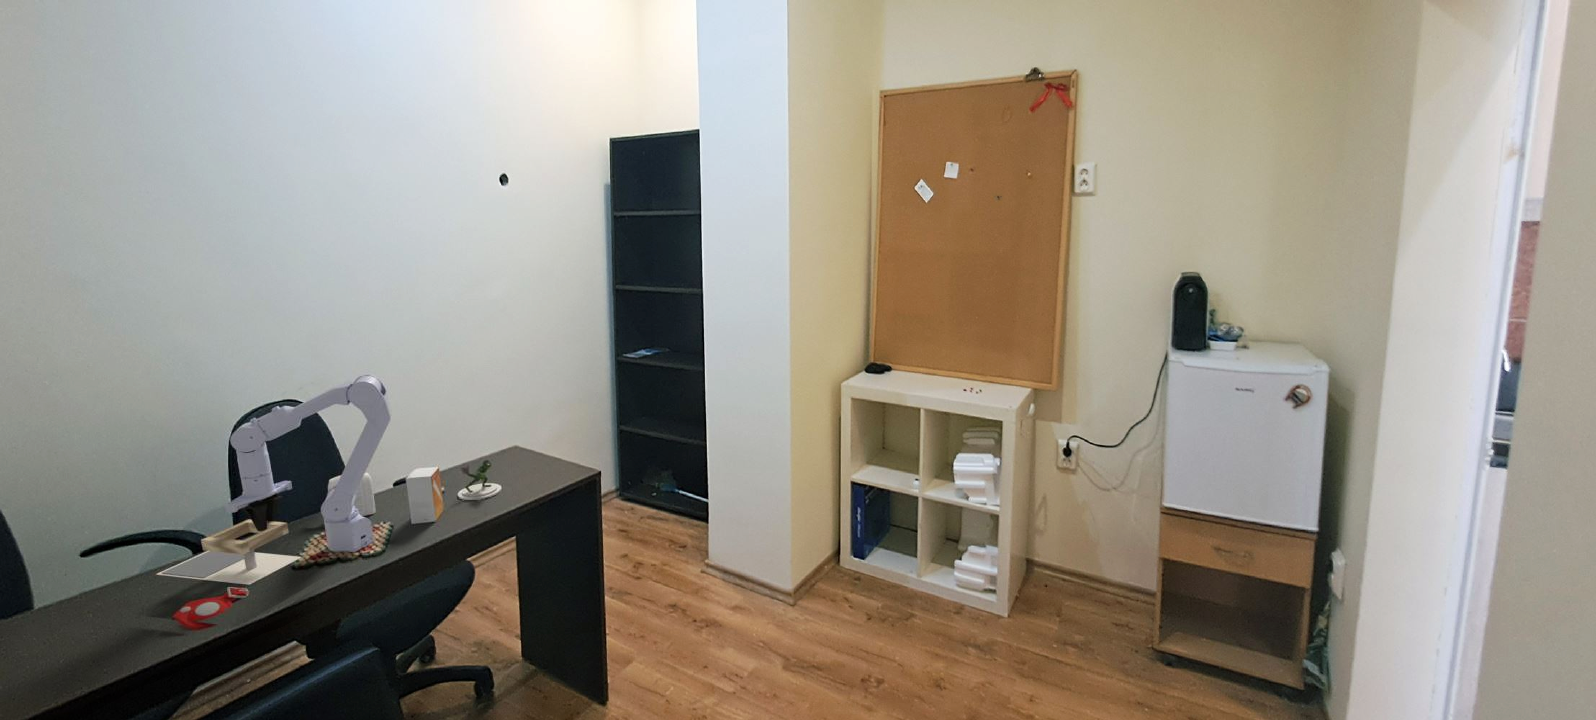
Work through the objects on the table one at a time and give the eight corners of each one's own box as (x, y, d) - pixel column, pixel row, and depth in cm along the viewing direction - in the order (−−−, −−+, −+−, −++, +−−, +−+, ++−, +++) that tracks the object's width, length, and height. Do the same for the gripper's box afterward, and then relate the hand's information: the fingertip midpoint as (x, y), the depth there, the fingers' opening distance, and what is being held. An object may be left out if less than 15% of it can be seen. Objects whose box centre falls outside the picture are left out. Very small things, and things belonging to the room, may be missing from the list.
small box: (436, 521, 187) (430, 476, 184) (411, 524, 185) (404, 478, 183) (444, 510, 194) (439, 466, 192) (420, 512, 193) (414, 468, 190)
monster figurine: (498, 498, 202) (495, 465, 200) (454, 503, 199) (450, 469, 197) (504, 483, 214) (500, 452, 212) (462, 488, 210) (458, 456, 208)
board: (302, 562, 165) (299, 541, 163) (250, 590, 152) (246, 567, 151) (214, 553, 170) (210, 533, 169) (157, 580, 157) (152, 558, 156)
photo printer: (375, 509, 196) (369, 467, 193) (376, 514, 192) (370, 472, 190) (332, 518, 190) (325, 475, 188) (332, 523, 186) (325, 480, 184)
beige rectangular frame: (288, 532, 162) (287, 522, 162) (243, 554, 152) (241, 543, 151) (250, 529, 164) (248, 519, 164) (202, 550, 154) (200, 539, 153)
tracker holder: (218, 625, 137) (160, 619, 135) (219, 641, 139) (162, 636, 137) (254, 582, 148) (201, 576, 146) (255, 598, 150) (203, 592, 148)
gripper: (271, 462, 168) (280, 515, 170) (210, 484, 154) (221, 541, 156) (295, 464, 166) (304, 516, 169) (236, 486, 152) (246, 543, 155)
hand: (266, 528), depth 163 cm, fingers closed on beige rectangular frame, 1 cm apart
